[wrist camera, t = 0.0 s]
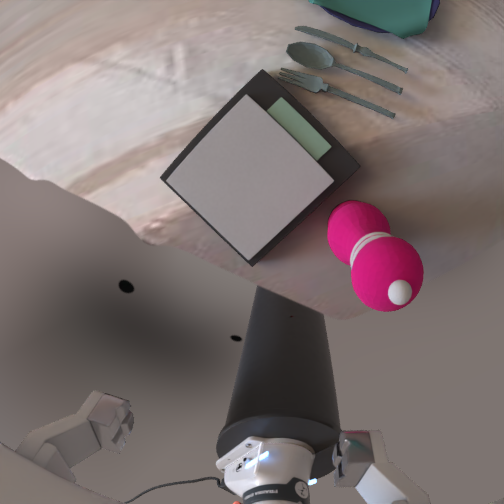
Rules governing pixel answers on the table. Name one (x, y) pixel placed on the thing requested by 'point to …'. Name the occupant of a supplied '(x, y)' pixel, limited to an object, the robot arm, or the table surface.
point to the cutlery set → (364, 16)
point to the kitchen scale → (259, 168)
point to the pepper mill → (374, 256)
